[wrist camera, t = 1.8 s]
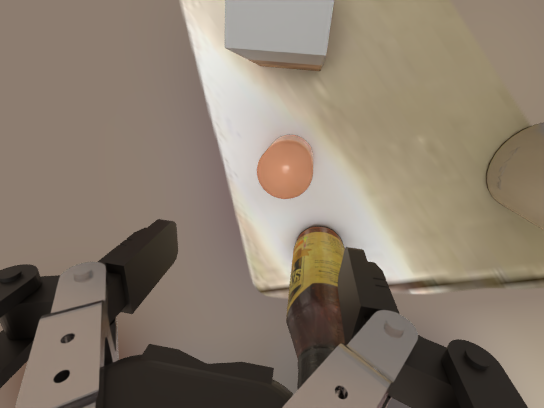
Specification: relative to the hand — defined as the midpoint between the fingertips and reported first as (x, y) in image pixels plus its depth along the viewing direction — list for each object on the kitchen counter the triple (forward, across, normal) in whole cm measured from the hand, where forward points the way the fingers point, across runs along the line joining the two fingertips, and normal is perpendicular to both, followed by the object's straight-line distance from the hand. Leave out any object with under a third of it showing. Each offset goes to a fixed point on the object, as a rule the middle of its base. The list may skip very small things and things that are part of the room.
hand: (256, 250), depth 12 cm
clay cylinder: (+19, 0, 0) cm, 19 cm away
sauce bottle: (+19, -5, +11) cm, 23 cm away
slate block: (+13, +1, -12) cm, 18 cm away
